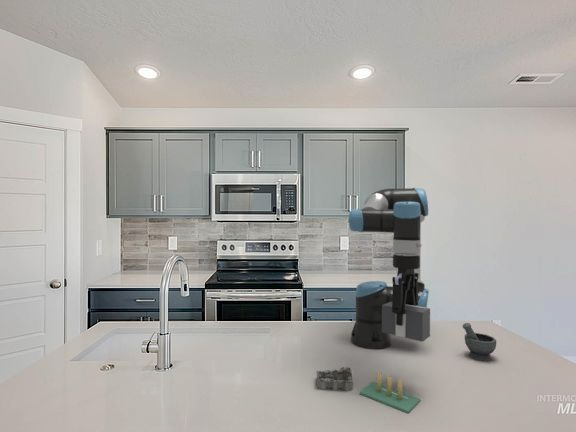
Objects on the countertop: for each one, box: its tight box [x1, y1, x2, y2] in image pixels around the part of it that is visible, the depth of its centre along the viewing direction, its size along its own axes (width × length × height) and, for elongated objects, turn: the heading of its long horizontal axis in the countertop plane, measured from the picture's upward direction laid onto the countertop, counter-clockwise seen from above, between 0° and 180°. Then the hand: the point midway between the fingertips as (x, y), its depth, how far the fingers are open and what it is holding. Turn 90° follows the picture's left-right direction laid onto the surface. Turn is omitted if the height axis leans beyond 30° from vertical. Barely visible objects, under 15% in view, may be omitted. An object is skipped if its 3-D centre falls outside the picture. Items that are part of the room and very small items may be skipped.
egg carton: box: [316, 366, 354, 391], centre depth 103 cm, size 11×8×4 cm
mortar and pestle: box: [462, 322, 497, 361], centre depth 124 cm, size 11×9×12 cm
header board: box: [359, 372, 421, 414], centre depth 96 cm, size 14×8×6 cm, turn 48°
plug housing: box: [382, 302, 431, 342], centre depth 103 cm, size 12×6×8 cm, turn 49°
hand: (405, 333), depth 102 cm, fingers closed on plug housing, 6 cm apart
